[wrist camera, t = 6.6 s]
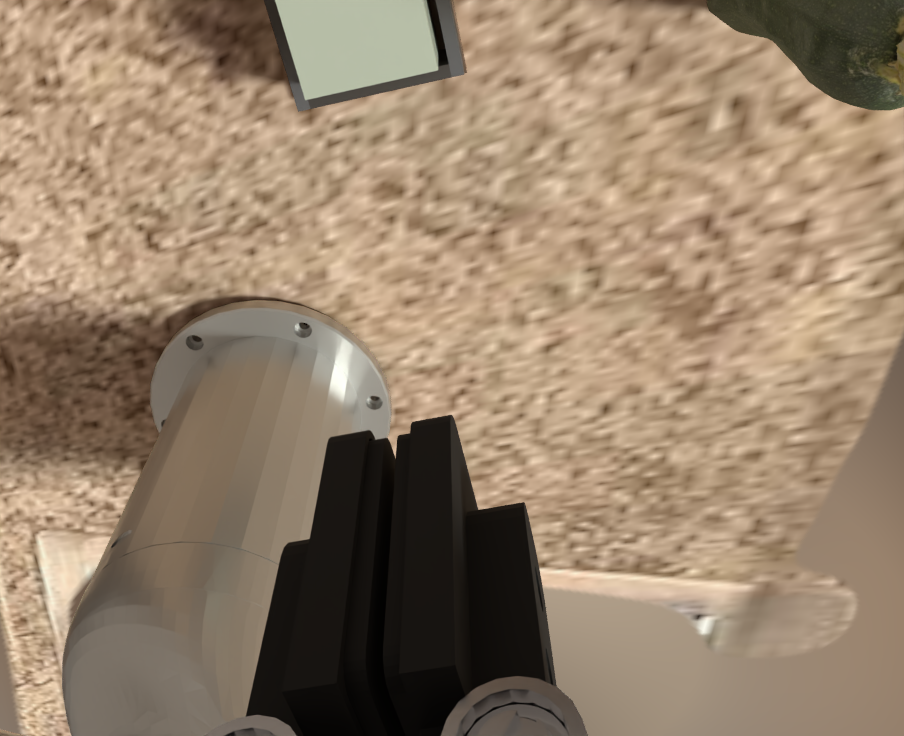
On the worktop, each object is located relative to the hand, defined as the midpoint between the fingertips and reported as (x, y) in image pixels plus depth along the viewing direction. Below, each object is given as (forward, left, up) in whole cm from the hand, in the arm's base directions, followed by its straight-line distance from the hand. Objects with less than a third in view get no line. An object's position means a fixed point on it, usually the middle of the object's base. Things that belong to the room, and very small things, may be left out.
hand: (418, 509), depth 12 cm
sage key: (+1, +3, -27) cm, 27 cm away
